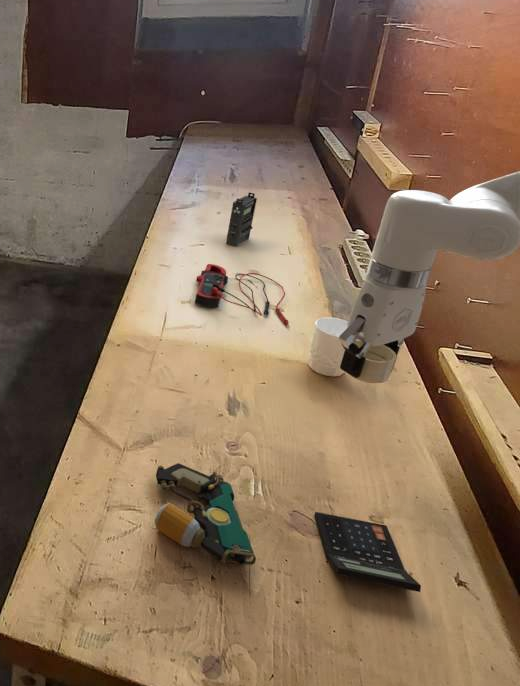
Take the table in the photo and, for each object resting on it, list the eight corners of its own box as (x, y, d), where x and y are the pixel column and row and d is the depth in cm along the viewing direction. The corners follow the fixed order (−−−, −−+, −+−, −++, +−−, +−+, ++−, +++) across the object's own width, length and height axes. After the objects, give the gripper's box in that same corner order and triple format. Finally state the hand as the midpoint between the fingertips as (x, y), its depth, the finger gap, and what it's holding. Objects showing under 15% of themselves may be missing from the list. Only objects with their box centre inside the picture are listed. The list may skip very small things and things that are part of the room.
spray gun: (157, 467, 96) (253, 498, 90) (140, 541, 82) (251, 583, 76) (161, 448, 94) (259, 477, 88) (144, 520, 80) (259, 561, 74)
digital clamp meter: (188, 293, 140) (203, 255, 159) (186, 309, 142) (201, 269, 161) (293, 312, 130) (295, 269, 149) (289, 329, 132) (292, 284, 151)
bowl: (360, 357, 98) (367, 335, 96) (398, 379, 92) (406, 356, 90) (331, 366, 96) (337, 344, 94) (368, 389, 90) (376, 366, 88)
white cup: (342, 359, 121) (354, 319, 116) (351, 381, 114) (365, 340, 109) (301, 354, 123) (311, 314, 118) (308, 375, 116) (320, 334, 112)
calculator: (384, 529, 83) (390, 515, 82) (414, 603, 73) (422, 588, 72) (314, 515, 85) (318, 501, 84) (333, 585, 75) (339, 570, 74)
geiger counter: (237, 248, 174) (246, 202, 167) (223, 244, 177) (231, 199, 170) (252, 238, 180) (262, 194, 173) (239, 235, 183) (247, 191, 176)
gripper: (379, 293, 80) (348, 393, 88) (461, 271, 85) (425, 367, 93) (333, 272, 86) (307, 367, 94) (412, 252, 91) (382, 344, 99)
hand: (366, 366), depth 93 cm, fingers closed on bowl, 6 cm apart
